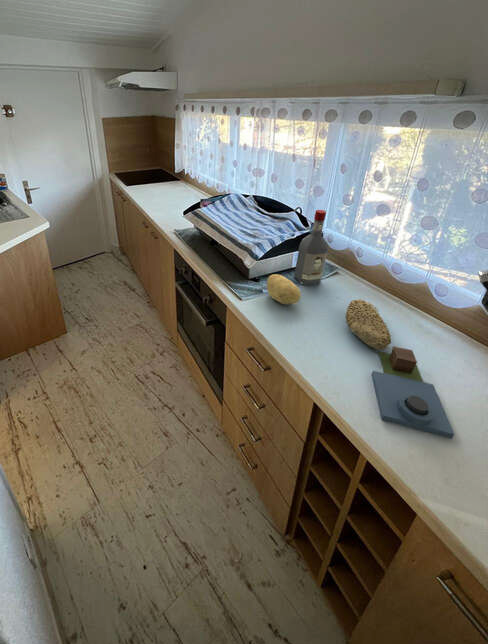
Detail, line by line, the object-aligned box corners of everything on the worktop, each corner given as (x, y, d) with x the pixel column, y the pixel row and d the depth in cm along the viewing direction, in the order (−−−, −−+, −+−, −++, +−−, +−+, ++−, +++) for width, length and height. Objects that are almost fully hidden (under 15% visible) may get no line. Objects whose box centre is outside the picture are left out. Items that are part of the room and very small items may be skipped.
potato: (273, 312, 109) (276, 289, 104) (263, 289, 122) (266, 268, 117) (301, 311, 109) (305, 289, 104) (289, 288, 122) (292, 268, 117)
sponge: (342, 311, 111) (339, 336, 94) (352, 293, 108) (351, 315, 91) (381, 329, 106) (385, 358, 89) (393, 310, 103) (399, 337, 86)
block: (411, 374, 84) (417, 362, 82) (392, 369, 85) (397, 357, 83) (406, 361, 88) (412, 350, 85) (388, 357, 89) (393, 346, 87)
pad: (413, 359, 89) (413, 358, 89) (423, 384, 81) (423, 382, 81) (378, 352, 92) (379, 351, 91) (384, 375, 84) (385, 374, 84)
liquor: (291, 275, 131) (303, 208, 117) (310, 272, 132) (324, 206, 118) (302, 286, 123) (316, 216, 109) (323, 284, 124) (339, 214, 110)
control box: (430, 388, 80) (435, 379, 79) (451, 439, 68) (458, 429, 67) (371, 374, 84) (374, 365, 83) (381, 419, 73) (385, 410, 71)
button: (422, 402, 73) (425, 398, 72) (428, 417, 70) (431, 412, 69) (403, 398, 74) (406, 393, 73) (408, 412, 71) (410, 407, 70)
